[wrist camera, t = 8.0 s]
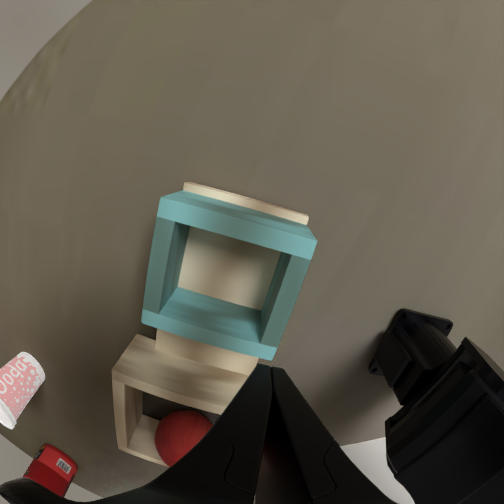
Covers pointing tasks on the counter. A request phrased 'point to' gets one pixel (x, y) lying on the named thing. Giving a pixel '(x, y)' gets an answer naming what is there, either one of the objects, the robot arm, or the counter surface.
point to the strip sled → (209, 305)
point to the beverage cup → (18, 386)
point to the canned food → (52, 469)
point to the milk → (377, 468)
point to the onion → (179, 434)
